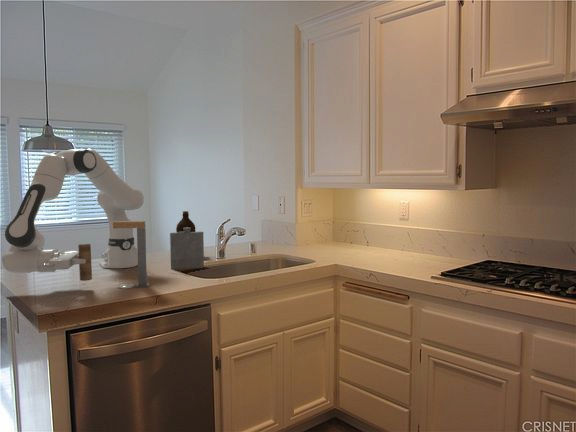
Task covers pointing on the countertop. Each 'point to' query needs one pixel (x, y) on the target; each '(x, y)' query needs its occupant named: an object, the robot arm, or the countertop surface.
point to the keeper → (140, 249)
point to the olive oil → (185, 223)
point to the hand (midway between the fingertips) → (87, 259)
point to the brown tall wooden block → (86, 267)
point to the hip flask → (187, 249)
